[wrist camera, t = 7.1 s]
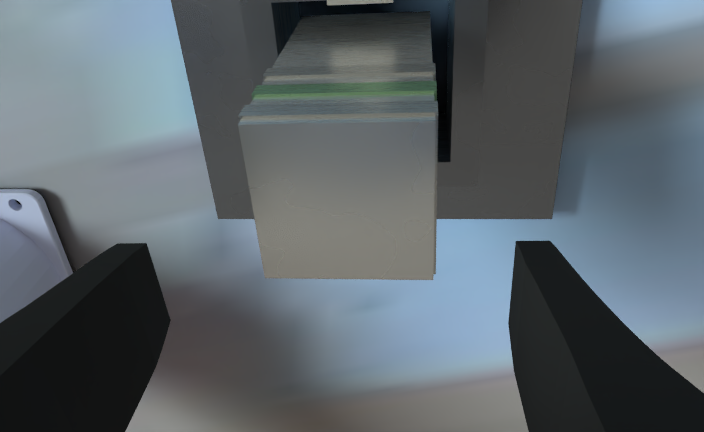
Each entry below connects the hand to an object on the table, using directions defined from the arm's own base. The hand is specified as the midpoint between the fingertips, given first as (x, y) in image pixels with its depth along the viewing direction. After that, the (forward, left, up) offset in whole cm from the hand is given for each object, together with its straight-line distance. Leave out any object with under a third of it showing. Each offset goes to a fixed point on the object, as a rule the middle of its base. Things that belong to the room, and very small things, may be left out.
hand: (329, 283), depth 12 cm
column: (0, +2, -7) cm, 7 cm away
